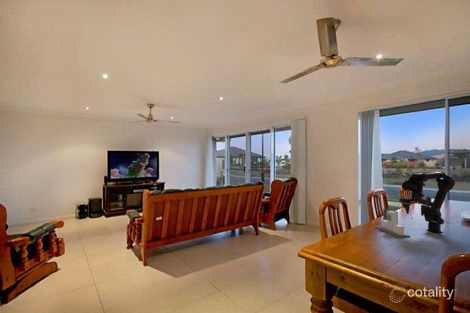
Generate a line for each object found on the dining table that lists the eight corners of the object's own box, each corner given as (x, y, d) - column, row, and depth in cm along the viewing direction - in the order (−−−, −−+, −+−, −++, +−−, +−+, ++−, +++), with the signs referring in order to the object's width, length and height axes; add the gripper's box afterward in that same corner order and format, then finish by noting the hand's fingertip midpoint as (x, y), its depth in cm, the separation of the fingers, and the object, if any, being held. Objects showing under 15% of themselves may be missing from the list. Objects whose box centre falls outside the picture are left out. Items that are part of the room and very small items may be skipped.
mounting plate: (388, 227, 168) (388, 219, 168) (410, 237, 148) (410, 227, 148) (376, 228, 168) (376, 219, 168) (396, 237, 148) (396, 227, 148)
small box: (398, 225, 173) (398, 211, 173) (388, 225, 175) (388, 211, 175) (392, 222, 184) (391, 208, 184) (382, 221, 185) (382, 208, 185)
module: (392, 228, 160) (392, 210, 160) (397, 230, 156) (397, 212, 156) (386, 228, 160) (386, 210, 160) (391, 230, 156) (391, 212, 156)
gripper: (410, 191, 149) (408, 215, 148) (441, 195, 147) (439, 219, 147) (399, 189, 160) (397, 212, 160) (428, 193, 159) (426, 215, 158)
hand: (414, 214), depth 156 cm, fingers open, 9 cm apart
